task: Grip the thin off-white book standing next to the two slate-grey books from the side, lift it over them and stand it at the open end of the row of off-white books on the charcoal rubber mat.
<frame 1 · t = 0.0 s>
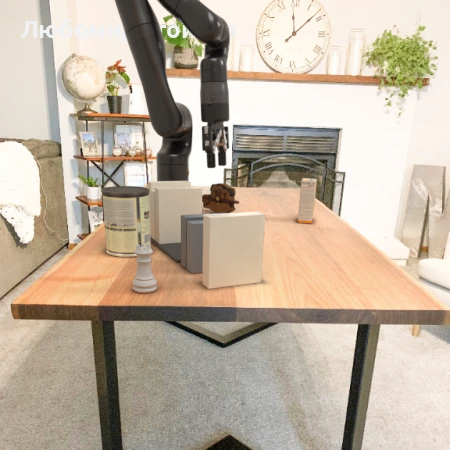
hand: (217, 166, 121), 17 cm above the table, tool pointing down, fingers open, 8 cm apart
rook chess piece: (145, 290, 79), on the table
supplement box: (305, 221, 143), on the table
wooden carving: (219, 214, 150), on the table
grey books: (208, 266, 93), on the table
white books: (192, 253, 102), on the table
white book: (232, 283, 84), on the table
coffee can: (128, 252, 102), on the table
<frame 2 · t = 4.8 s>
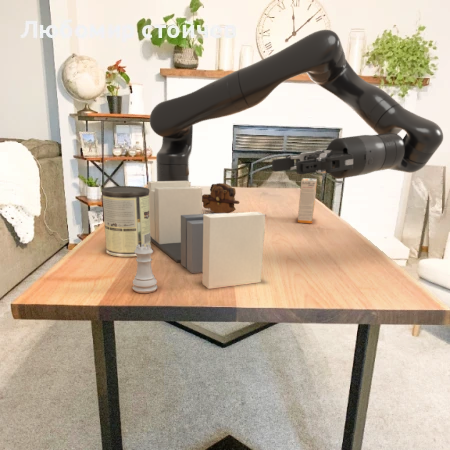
hand: (284, 166, 81), 21 cm above the table, tool horizontal, fingers open, 8 cm apart
nothing on the table moved.
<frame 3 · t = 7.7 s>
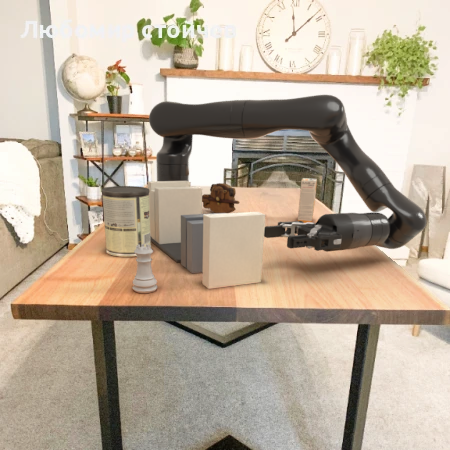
hand: (276, 237, 84), 8 cm above the table, tool horizontal, fingers open, 8 cm apart
nothing on the table moved.
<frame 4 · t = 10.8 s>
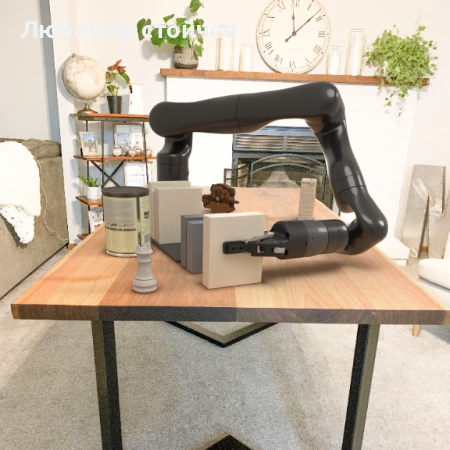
hand: (219, 245, 80), 8 cm above the table, tool horizontal, fingers closed on white book, 3 cm apart
white book: (232, 283, 84), on the table, touching gripper
everything else where it was.
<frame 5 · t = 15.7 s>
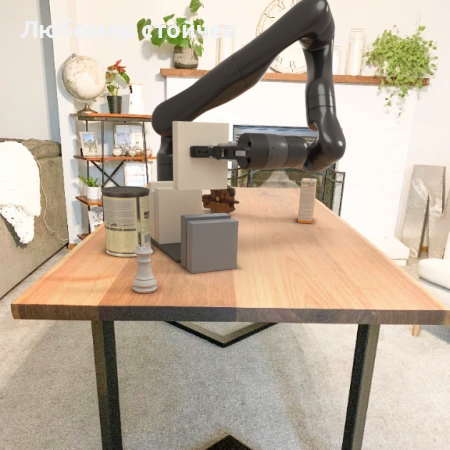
hand: (187, 151, 89), 23 cm above the table, tool horizontal, fingers closed on white book, 3 cm apart
white book: (200, 188, 93), point 15 cm above the table, touching gripper
everything else where it was.
when the fingers open (8 cm above the table, at t = 20.5 s): white book stays where it is, resting on white books.
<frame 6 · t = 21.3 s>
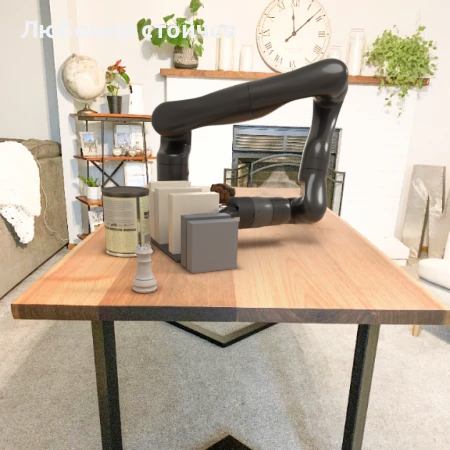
hand: (185, 215, 98), 9 cm above the table, tool horizontal, fingers open, 8 cm apart
white book: (193, 250, 102), point 1 cm above the table, touching white books
everything else where it was.
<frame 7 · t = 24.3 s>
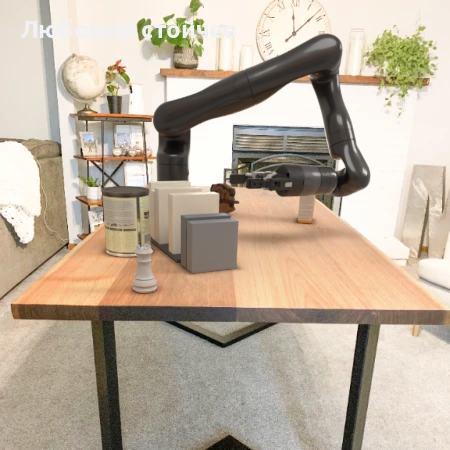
hand: (238, 181, 101), 16 cm above the table, tool horizontal, fingers open, 8 cm apart
nothing on the table moved.
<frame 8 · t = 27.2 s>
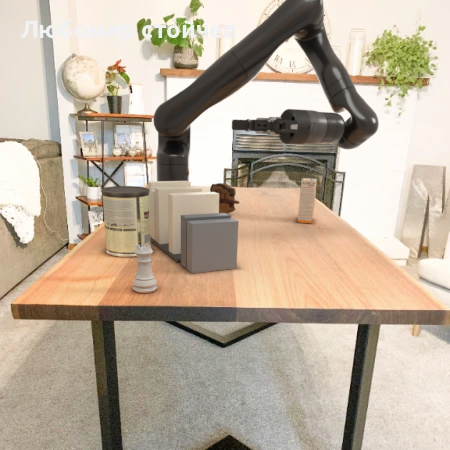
hand: (241, 124, 97), 28 cm above the table, tool horizontal, fingers open, 8 cm apart
nothing on the table moved.
at the end: white book 0.1 cm off-centre on the white books, point 0.6 cm above the white books's base; white book tilted 0°; the gripper is holding nothing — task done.
